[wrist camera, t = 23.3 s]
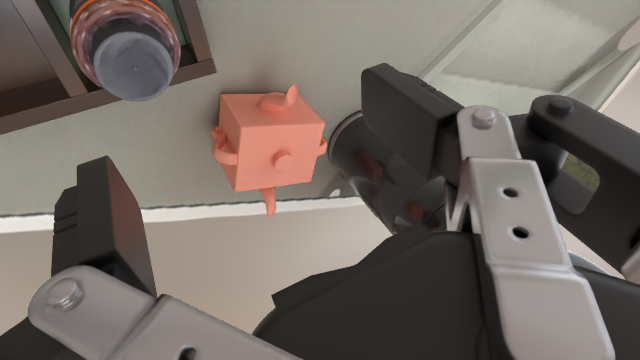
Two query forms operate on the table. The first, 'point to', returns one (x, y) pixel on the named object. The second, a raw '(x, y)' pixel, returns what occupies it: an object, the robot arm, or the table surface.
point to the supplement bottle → (124, 46)
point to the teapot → (267, 141)
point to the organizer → (71, 61)
